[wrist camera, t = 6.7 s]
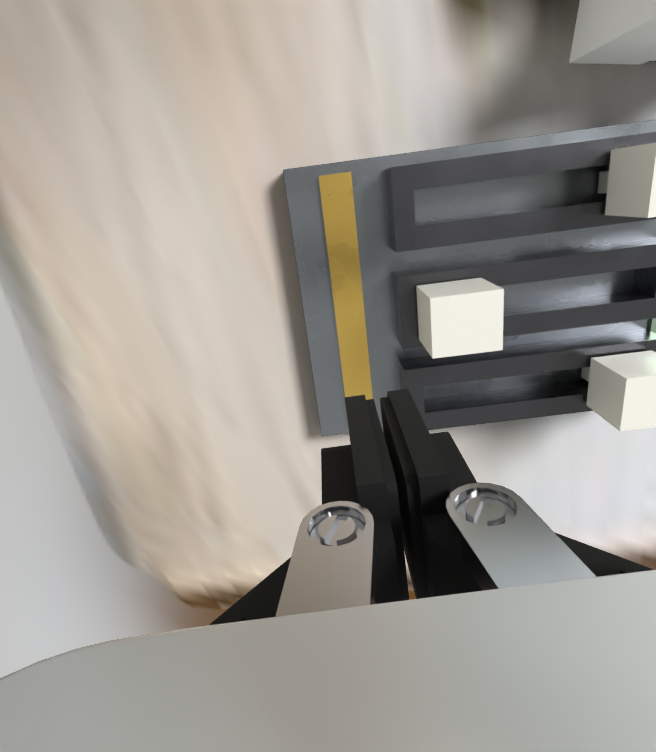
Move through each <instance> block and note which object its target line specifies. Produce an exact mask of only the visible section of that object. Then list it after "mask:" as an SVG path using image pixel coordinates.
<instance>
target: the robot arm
mask: <svg viewBox="0 0 656 752" xmlns="http://www.w3.org/2000/svg"><path fill="white" fill-rule="evenodd" d="M345 405H346V412H347V420H348V427H349V435H350V442H351V445H345V446H338V447H331V448H323V449H321V463H322V505H320V506H318V507H316V508H315V509H313V510H311V511H310V512H309V513H308V514H307V515H306V516H305V517H304V518H303V520H302V522H301V524H300V527H299V530H298V534H297V538H296V542H295V545H294V549H293V553H292V556H291V558H289V559H288V560H287V561H286V562H285V563H283V564H282V565H281V566H280V567H278V568H277V569H276V570H275V571H274V572H272V573H271V574H270V575H269V576H268V577H266V578H265V579H264V580H263V581H262V582H260V583H259V584H258V585H257V586H256V587H254V588H253V589H252V590H251V591H250V592H248V593H247V594H246V595H245V596H243V597H242V598H241V599H240V600H239V601H237V602H236V603H235V604H234V605H233V606H231V607H230V608H229V609H228V610H227V611H225V612H224V613H223V614H222V615H221V616H219V617H218V618H217V619H216V620H214V621H213V622H212V623H211V624H210V625H209V626H201V627H194V628H186V629H179V630H173V631H166V632H160V633H154V634H148V635H142V636H136V637H130V638H123V639H117V640H111V641H107V642H104V643H99V644H95V645H91V646H86V647H82V648H78V649H75V650H72V651H69V652H66V653H63V654H60V655H57V656H54V657H51V658H48V659H45V660H42V661H39V662H37V663H34V664H33V665H30V666H28V667H25V668H23V669H21V670H19V671H16V672H14V673H12V674H9V675H7V676H5V677H3V678H0V752H656V570H653V569H651V568H648V567H645V566H643V565H640V564H637V563H635V562H632V561H629V560H627V559H624V558H621V557H619V556H616V555H613V554H611V553H608V552H605V551H603V550H600V549H597V548H595V547H592V546H589V545H586V544H584V543H581V542H578V541H576V540H573V539H570V538H568V537H565V536H562V535H560V534H557V533H554V532H553V531H552V530H551V529H550V527H549V526H548V525H547V524H546V523H545V522H544V521H543V520H542V519H541V518H540V517H539V516H538V515H537V514H536V513H535V512H534V511H533V510H532V509H531V508H530V507H529V505H528V504H527V503H526V502H525V501H524V500H523V499H522V498H521V497H520V496H518V495H517V494H516V493H515V492H513V491H512V490H510V489H507V488H505V487H503V486H500V485H495V484H491V483H477V482H476V480H475V478H474V476H473V475H472V473H471V471H470V469H469V467H468V466H467V464H466V462H465V460H464V458H463V457H462V455H461V453H460V451H459V450H458V448H457V446H456V444H455V442H454V441H453V439H452V437H451V435H450V434H449V433H448V432H441V433H434V434H429V431H428V429H427V427H426V425H425V423H424V421H423V419H422V417H421V415H420V413H419V410H418V408H417V406H416V404H415V402H414V400H413V398H412V396H411V394H410V392H409V390H408V389H401V390H394V391H387V397H383V398H380V407H381V416H382V425H383V431H382V427H381V423H380V420H379V416H378V413H377V409H376V405H375V402H374V399H368V400H366V398H365V395H358V396H351V397H345ZM404 551H405V555H406V559H407V563H408V567H409V571H410V576H411V580H412V584H413V588H414V592H415V596H416V599H413V600H409V594H408V584H407V575H406V565H405V555H404Z"/></svg>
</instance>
